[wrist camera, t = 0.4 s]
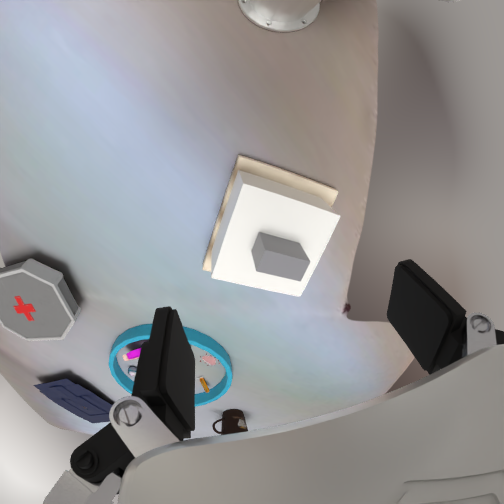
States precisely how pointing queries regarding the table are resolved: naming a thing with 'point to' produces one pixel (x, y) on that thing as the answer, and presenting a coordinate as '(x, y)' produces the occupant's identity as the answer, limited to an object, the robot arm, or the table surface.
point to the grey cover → (271, 235)
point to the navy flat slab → (77, 400)
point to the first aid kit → (36, 302)
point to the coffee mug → (232, 422)
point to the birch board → (275, 175)
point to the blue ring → (193, 338)
